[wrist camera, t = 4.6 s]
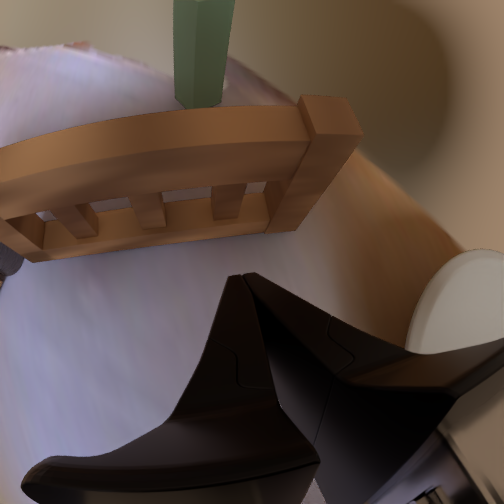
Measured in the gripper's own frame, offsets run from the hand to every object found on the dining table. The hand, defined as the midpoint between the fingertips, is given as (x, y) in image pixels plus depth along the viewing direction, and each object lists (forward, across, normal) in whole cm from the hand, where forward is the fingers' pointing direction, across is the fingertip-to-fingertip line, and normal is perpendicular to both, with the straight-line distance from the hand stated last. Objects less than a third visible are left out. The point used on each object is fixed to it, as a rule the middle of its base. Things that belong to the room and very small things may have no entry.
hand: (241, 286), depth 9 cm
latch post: (+15, 0, -6) cm, 16 cm away
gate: (+8, +3, +1) cm, 8 cm away
